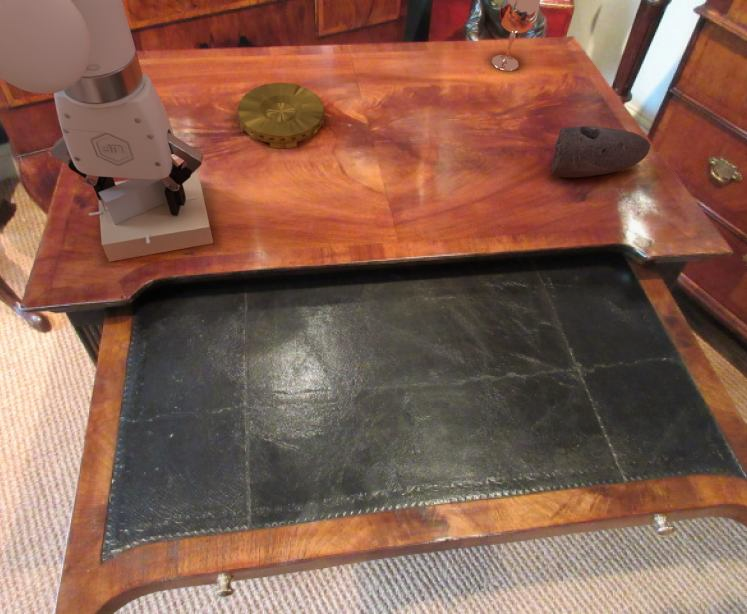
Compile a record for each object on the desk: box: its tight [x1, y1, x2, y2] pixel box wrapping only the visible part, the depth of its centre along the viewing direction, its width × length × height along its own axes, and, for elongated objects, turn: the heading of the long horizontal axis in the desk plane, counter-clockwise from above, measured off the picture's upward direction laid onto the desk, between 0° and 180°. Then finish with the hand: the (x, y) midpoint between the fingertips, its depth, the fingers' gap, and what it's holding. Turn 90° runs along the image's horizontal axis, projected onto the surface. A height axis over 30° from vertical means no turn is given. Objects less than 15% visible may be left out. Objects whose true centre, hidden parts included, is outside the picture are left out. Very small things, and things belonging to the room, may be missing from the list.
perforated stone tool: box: [551, 125, 651, 179], centre depth 83 cm, size 15×5×7 cm, turn 98°
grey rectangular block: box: [99, 178, 167, 225], centre depth 70 cm, size 8×2×4 cm, turn 128°
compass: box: [237, 82, 325, 149], centre depth 86 cm, size 12×12×2 cm
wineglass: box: [491, 0, 541, 72], centre depth 95 cm, size 6×6×12 cm
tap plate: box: [88, 169, 214, 262], centre depth 73 cm, size 13×12×3 cm
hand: (144, 204), depth 71 cm, fingers open, 7 cm apart
